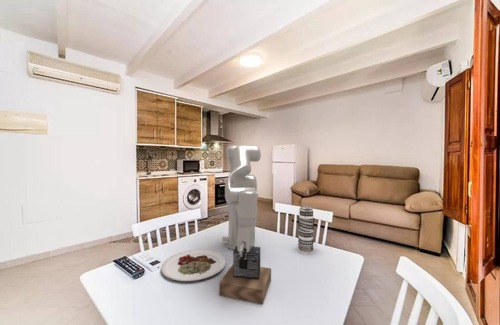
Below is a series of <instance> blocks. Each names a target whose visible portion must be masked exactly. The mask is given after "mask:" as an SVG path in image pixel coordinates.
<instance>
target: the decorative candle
mask: <svg viewBox="0 0 500 325" xmlns="http://www.w3.org/2000/svg"><path fill="white" fill-rule="evenodd" d="M298 210H299V211H298V212H299V214H298V216H297V219H298V220H297V222H298V223H297V225H298V229H297V230H298V238H297V239H298V244H297V245H298V246H297V249H298V252H299V253H301V254H305V255H311V254H313V253H314V231H315V230H314V229H315V227H314V226H315V224H314V223H315V220H316V219H315V218H314V211H315V210H314V209H313V208H312V207H311V206H308V205H303V206H301V207H299V209H298Z"/></svg>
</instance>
